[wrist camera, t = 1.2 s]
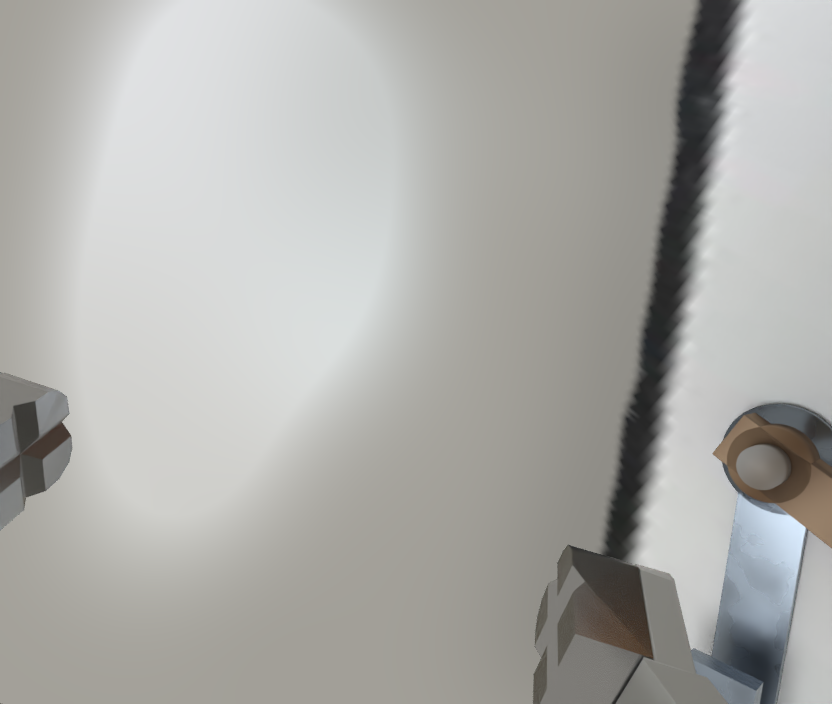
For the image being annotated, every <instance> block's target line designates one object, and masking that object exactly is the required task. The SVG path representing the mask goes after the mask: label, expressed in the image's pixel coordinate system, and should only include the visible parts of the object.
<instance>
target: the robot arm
mask: <svg viewBox="0 0 832 704" xmlns="http://www.w3.org/2000/svg"><path fill="white" fill-rule="evenodd" d="M68 415H69V407H68V400H67V396H65V395H64V394H63V393H61V392H60V391H58V390H55V389H52V388H49V387H46V386H43V385H40V384H37V383H34V382H31V381H28V380H25V379H22V378H19V377H16V376H13V375H10V374H7V373H1V372H0V530H1V529H3V528H4V527H5V526H6V525H7V524H8V523H9V522H11V521H12V520H13V519H14V518H15V517H16V516H17V515H19V514H20V513H21V512H22V511H23V510H24V508H25V501H26V497H29V496H32V495H35V494H38V493H41V492H44V491H46V490H47V489H49V488H50V487H51V486H52V485H53V484H54V483H55V482H56V481H57V480H58V479H59V478H60V476H61V475H62V473H63V471H64V470H65V468H66V467H67V465H68V463H69V461H70V456H71V451H72V438H71V435H70V433H69V432H68V430H67V429H66V427H65V426H64V425H63V423H62V421H63V420H64V419H65V418H66V417H67V416H68ZM557 564H558V565H557V579H556V580H554V581H552V582H550V583H548V585H547V588H546V590H545V593H544V595H543V598H542V601H541V604H540V608H539V612H538V616H537V623H536V630H535V648H536V650H537V651H538V653H539V655H540V656H541V659H540V662H539V664H538V666H537V668H536V670H535V673H534V684H533V704H728V703H727V702H726V700H725V699H724V698H723V697H722V695H721V694H720V693H719V692H718V690H717V689H716V688H715V687H714V685H713V684H712V683H711V682H710V680H709V679H708V678H707V677H704V676H701V675H698V674H696V671H695V666H694V662H693V658H692V653H691V649H690V645H689V641H688V636H687V632H686V628H685V624H684V619H683V615H682V611H681V607H680V602H679V598H678V594H677V589H676V585H675V581H674V579H673V578H672V576H671V575H670V574H669V573H665V572H662V571H658V570H655V569H651V568H648V567H644V566H641V565H637V564H635V565H633V564H632V563H628V562H625V561H622V560H618V559H615V558H611V557H608V556H605V555H601V554H598V553H594V552H591V551H587V550H584V549H581V548H577V547H574V546H571V545H567V546H566V548H565V549H564V550H563V552H562V554H561V556H560V558H559V561H558V563H557ZM0 704H1V703H0Z"/></svg>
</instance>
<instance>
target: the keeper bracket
mask: <svg viewBox="0 0 832 704" xmlns="http://www.w3.org/2000/svg"><path fill="white" fill-rule="evenodd" d="M751 413H757V414H758V415H759V416H761V417H762V418H764V419H765V420H766V421H768V422H769V423H771V424H784V425H788V426H791V427H794V428H796V429H798V430H799V431H801V432H803V433H804V434H805V435H806V436H808V437H809V438H810V439H811V441H812V442H813V443H814V445H815V446H816V448H817V450H818V452H819V456H820V459H821V460H823V461H824V462H826V463H827V464H828V465H830V466H831V467H832V427H831V426H830V425H829V424H828V423H827V422H826V421H825V420H823V419H822V418H821V417H819V416H818V415H816V414H815V413H813V412H811V411H809V410H806V409H804V408H801V407H797V406H793V405H787V404H770V405H764V406H760V407H756V408H754V409H751V410H749V411H747V412H745V413H743V414H742V415H741V416H739V417H738V418H737V419H736V420H735V421H734V422H733V423H732V424H731V425H730V427H729V428H728V430H727V432H726V434H725V436H724V439H725V438H726V436H727V435H728V434H729V433H730V431H731V430H732V429H733V428H734V427H735V425H736V424H737V423H738V422H739V420H740V419H741V418H742V417H743V415H747V414H751ZM724 439H723V440H724ZM722 464H723V468H724V471H725V473H726V475H727V478H728V480H729V481H730V483H731V484H732V486H733V487H734V488H735V489H736V491H737V492H738V498H737V504H736V511H735V517H734V523H733V529H732V535H731V541H730V547H729V553H728V559H727V565H726V571H725V578H724V584H723V590H722V596H721V602H720V608H719V614H718V620H717V626H716V632H715V638H714V644H713V651H712V657H711V656H709V655H707V654H705V653H703V652H700V651H698V650H696V649H694V648H693V649H692V650H691V653H692V658H693V662H694V666H695V671H696V674H698V675H701V676H704V677H707V678H708V679H709V680H710V682H711V683H712V684H713V685H714V687H715V688H716V689H717V690H718V692H719V693H720V694H721V695H722V697H723V698H724V699H725V700H726V702H727V703H728V704H777V699H778V694H779V688H780V682H781V677H782V671H783V666H784V660H785V654H786V649H787V643H788V637H789V632H790V626H791V621H792V615H793V609H794V604H795V598H796V592H797V587H798V581H799V576H800V570H801V564H802V559H803V553H804V547H805V542H806V536H807V531H808V529H807V528H805V527H804V526H803V525H802V524H800V523H799V522H798V521H797V520H795V519H794V518H793V517H792V516H790V515H789V514H788V513H787V512H785V511H784V510H783V509H781V508H780V507H779V506H778V505H776V504H775V503H767V502H762V501H759V500H756V499H754V498H752V497H750V496H748V495H747V494H745V493H744V492H743V491H742V490H741V489H739V487H738V486H737V485H736V484H735V483H734V481H733V480H732V478H731V476H730V473H729V471H728V467H727V465H726V464H725V463H723V462H722Z"/></svg>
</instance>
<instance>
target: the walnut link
mask: <svg viewBox="0 0 832 704" xmlns="http://www.w3.org/2000/svg"><path fill="white" fill-rule="evenodd" d="M712 454H713V455H714V456H716V457H717V458H718V459H719V460H721V461H722V462H723V463H725V464H726V465H727V467H728V471H729V473H730V476H731V478H732V480H733V481H734V483H735V484H736V485H737V486H738V487H739V489H741V490H742V491H743V492H744V493H745V494H747V495H748V496H750V497H752V498H754V499H756V500H759V501H762V502H767V503H775V504H776V505H778V506H779V507H780V508H781V509H783V510H784V511H785V512H787V513H788V514H789V515H790V516H792V517H793V518H794V519H795V520H797V521H798V522H799V523H800V524H802V525H803V526H804V527H805V528H807V529H808V530H809V531H811V532H812V533H813V534H814V535H816V536H817V537H818V538H819V539H821V540H822V541H823V542H824V543H826V544H827V545H828V546H830V547H831V548H832V467H831V466H830V465H828V464H827V463H826V462H824V461H823V460H821V459H820V456H819V452H818V450H817V448H816V446H815V445H814V443H813V442H812V441H811V439H810V438H809V437H808V436H806V435H805V434H804V433H803V432H801V431H799V430H798V429H796V428H794V427H791V426H788V425H784V424H771V423H769V422H768V421H766V420H765V419H764V418H762V417H761V416H759V415H758V414H757V413H751V414H747V415H743V417H742V418H741V419H740V420H739V422H738V423H737V424H736V425H735V427H734V428H733V429H732V430H731V431H730V433H729V434H728V435H727V436H726V438H725V439H724V440H723V441H722V442H721V444H720V445H719V446H718V447H717V449H716V450H715V451H714V452H713V453H712Z"/></svg>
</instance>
